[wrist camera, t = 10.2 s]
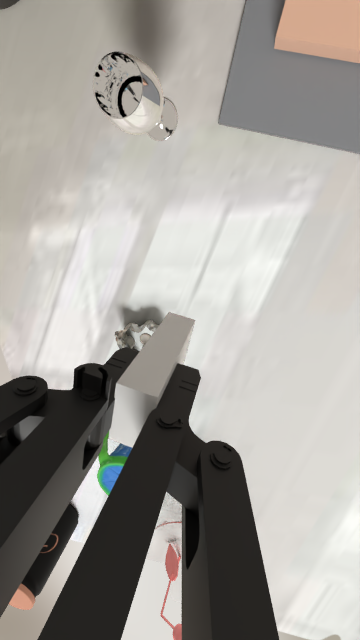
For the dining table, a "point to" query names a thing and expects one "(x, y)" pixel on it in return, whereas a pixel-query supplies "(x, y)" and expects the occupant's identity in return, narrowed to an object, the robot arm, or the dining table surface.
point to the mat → (289, 87)
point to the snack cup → (111, 464)
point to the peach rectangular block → (321, 28)
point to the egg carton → (129, 341)
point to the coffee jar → (45, 561)
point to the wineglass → (133, 97)
